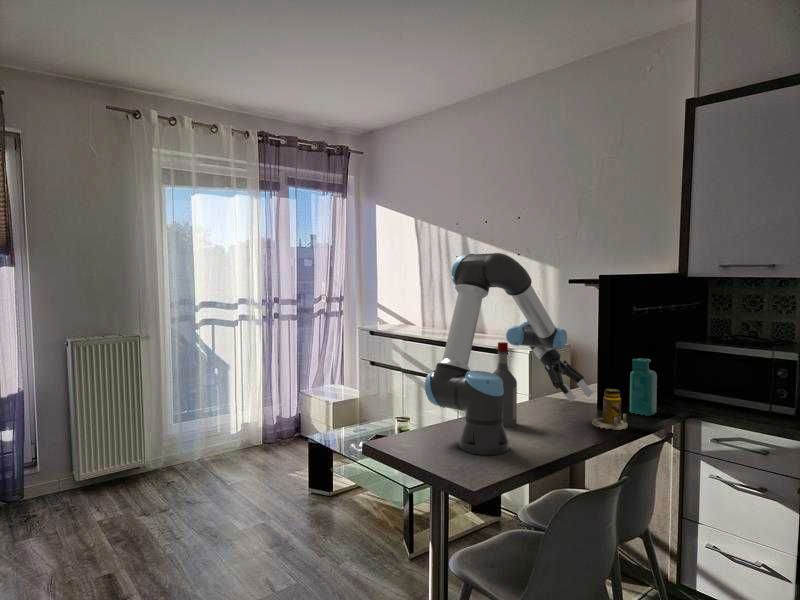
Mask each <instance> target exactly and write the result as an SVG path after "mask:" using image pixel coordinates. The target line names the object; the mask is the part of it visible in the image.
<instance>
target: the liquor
mask: <svg viewBox="0 0 800 600" xmlns="http://www.w3.org/2000/svg"><path fill="white" fill-rule="evenodd" d="M508 343H509V342H507V341H505V342H502V341H500V342H497V367H496V369H495V370H494V371H493V372H492V373H493V374H496V375H498V376H499V377H500V378H501V379H502V381H503V390H504V394H503V426H504V428H514V427H516V425H517V419H518V418H517V413H518V412H517V410H518V409H517V408H518V407H517V406H518V405H517V403H518V401H517V399H518V395H517V394H518V392H517V389H518V382H517V379H516V377H515V375H513V374H512V373H511V370H509V366H508V352H509V345H508Z"/></svg>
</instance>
